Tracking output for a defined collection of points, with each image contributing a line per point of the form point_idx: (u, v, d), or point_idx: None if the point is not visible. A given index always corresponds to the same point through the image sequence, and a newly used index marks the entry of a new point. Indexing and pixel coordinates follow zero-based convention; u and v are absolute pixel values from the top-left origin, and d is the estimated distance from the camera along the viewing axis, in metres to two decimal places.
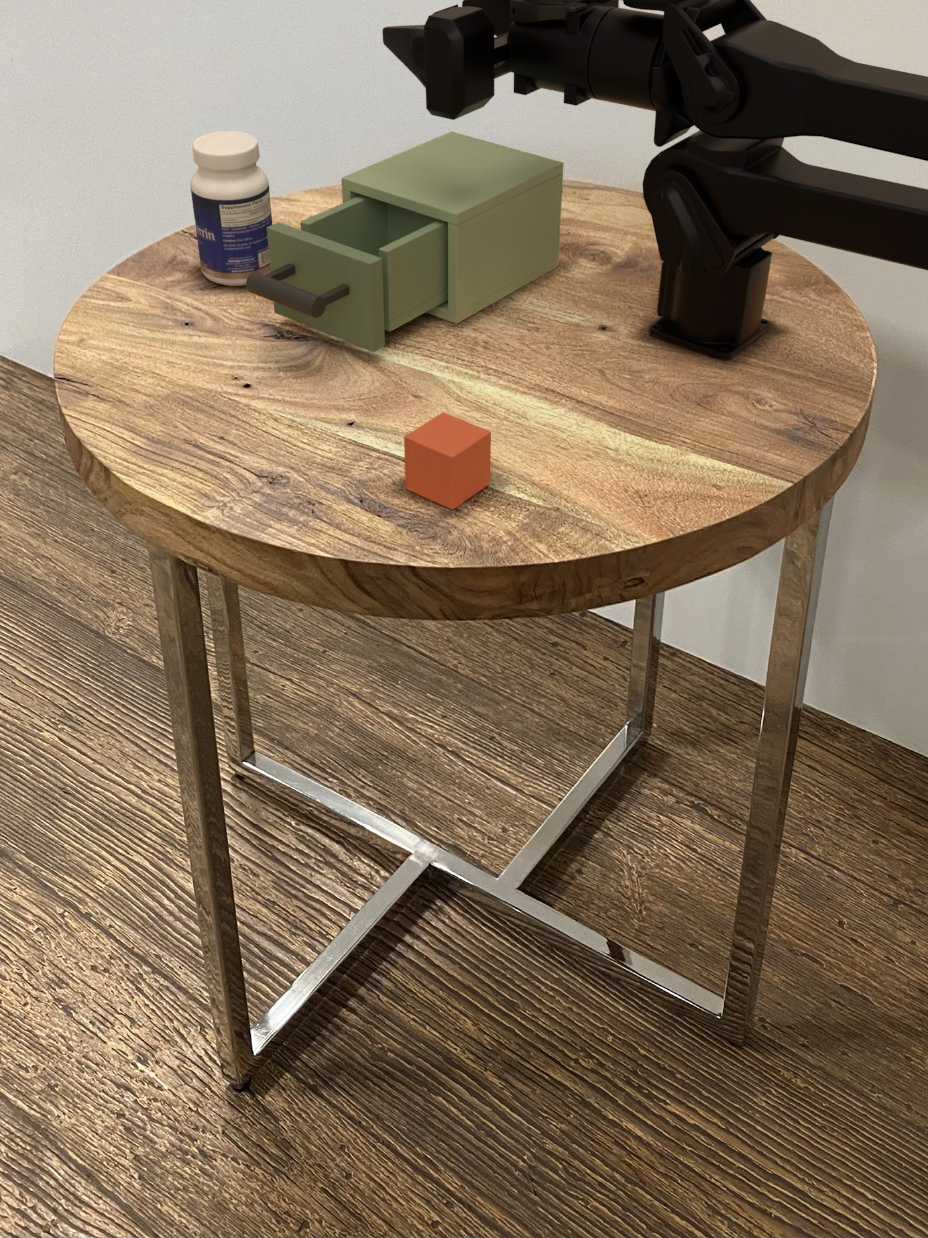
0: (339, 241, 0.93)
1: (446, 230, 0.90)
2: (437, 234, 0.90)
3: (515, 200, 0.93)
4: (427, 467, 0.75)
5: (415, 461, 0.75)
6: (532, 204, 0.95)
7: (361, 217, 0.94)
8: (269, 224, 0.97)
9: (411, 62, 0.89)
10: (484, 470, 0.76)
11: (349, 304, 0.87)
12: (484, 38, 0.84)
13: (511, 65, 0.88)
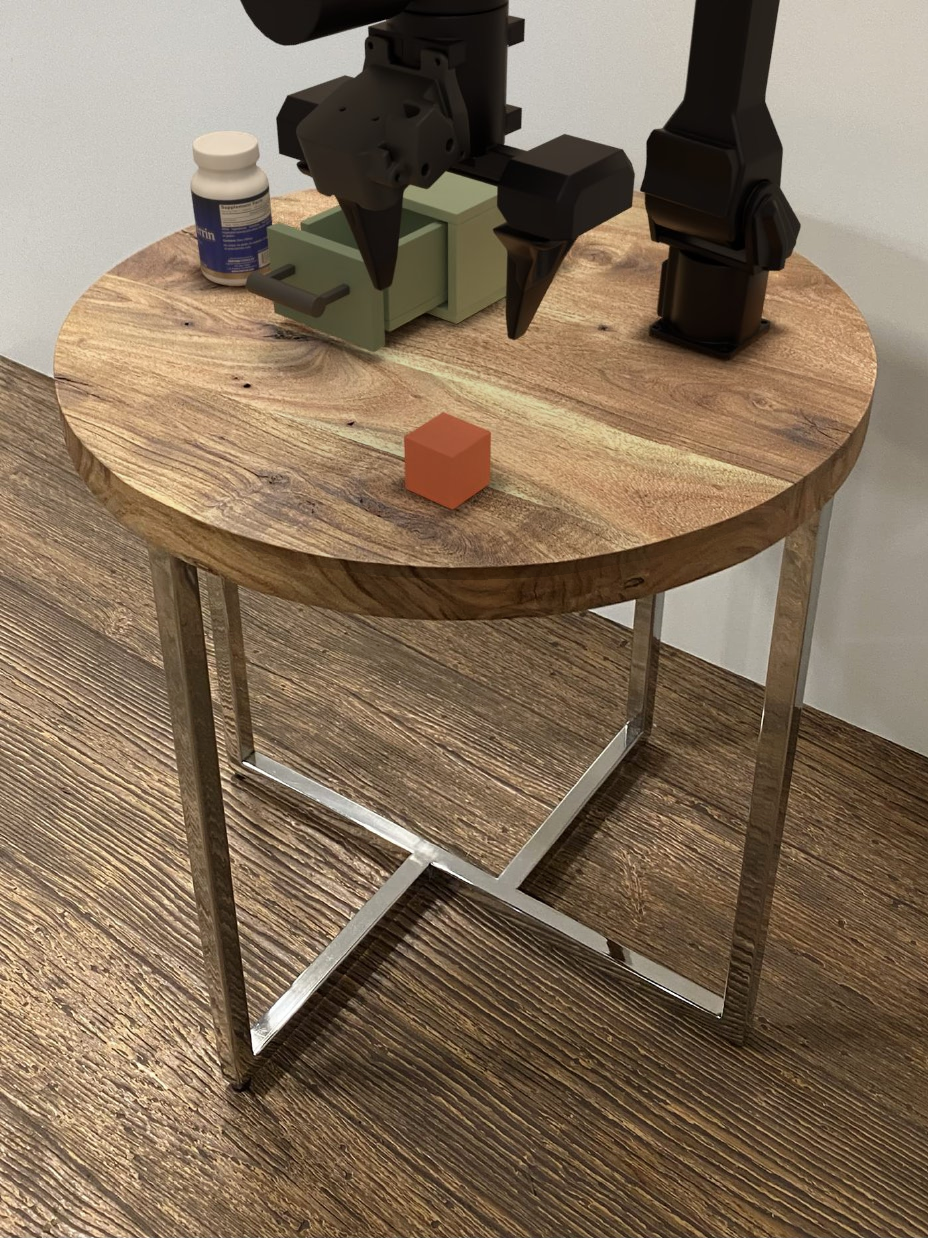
0: (339, 241, 0.93)
1: (446, 230, 0.90)
2: (437, 234, 0.90)
3: None
4: (427, 467, 0.75)
5: (415, 461, 0.75)
6: None
7: None
8: (269, 224, 0.97)
9: (548, 276, 0.66)
10: (484, 470, 0.76)
11: (349, 304, 0.87)
12: (536, 161, 0.60)
13: (503, 139, 0.63)
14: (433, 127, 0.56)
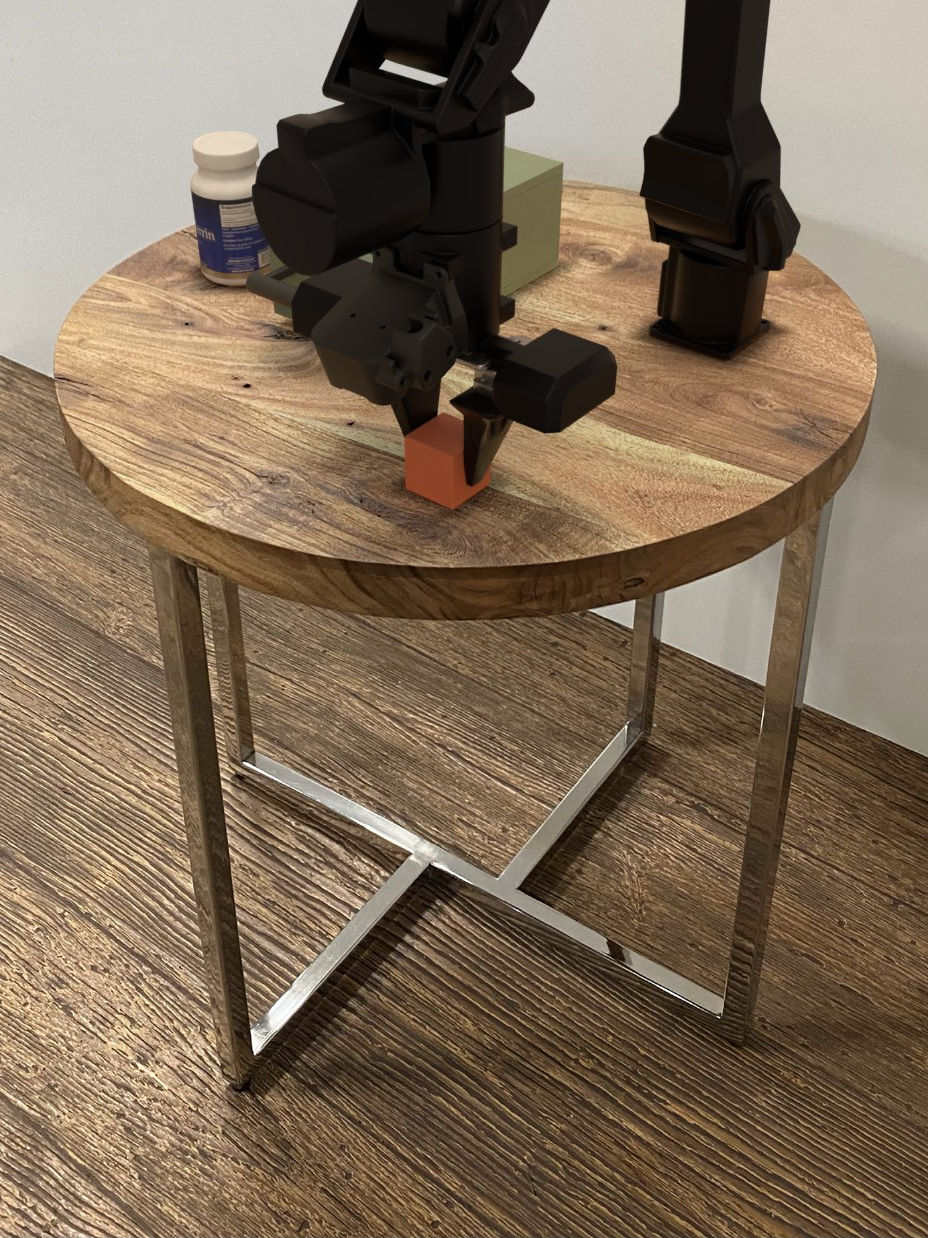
0: None
1: None
2: None
3: (515, 200, 0.93)
4: (427, 467, 0.75)
5: (415, 461, 0.75)
6: (532, 204, 0.95)
7: None
8: None
9: (501, 433, 0.74)
10: None
11: None
12: (527, 360, 0.66)
13: (498, 330, 0.70)
14: (435, 340, 0.63)
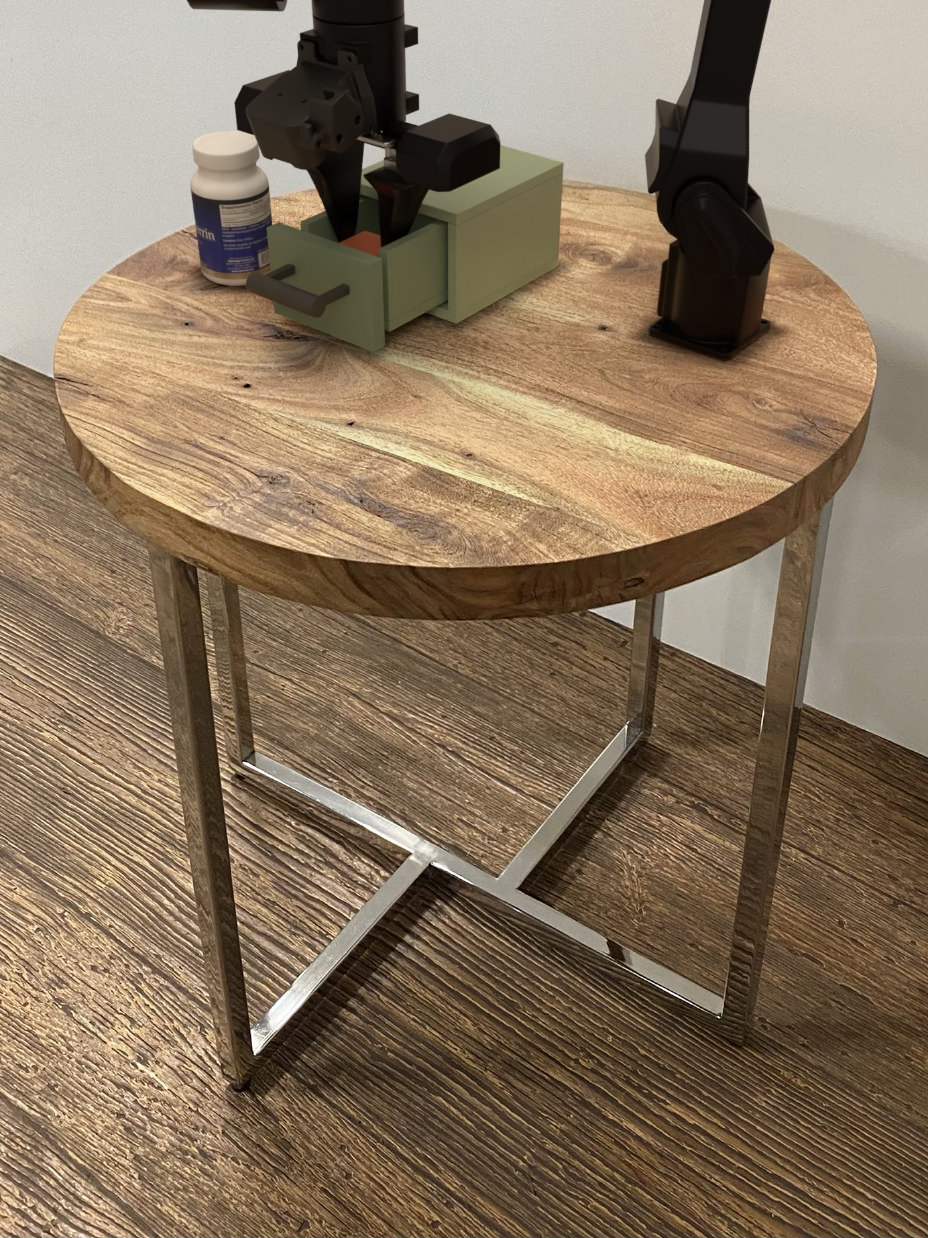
0: None
1: (446, 230, 0.90)
2: (437, 234, 0.90)
3: (515, 200, 0.93)
4: None
5: None
6: (532, 204, 0.95)
7: (361, 217, 0.94)
8: (269, 224, 0.97)
9: (411, 213, 0.88)
10: None
11: (349, 304, 0.87)
12: (423, 132, 0.80)
13: (404, 118, 0.84)
14: (344, 107, 0.77)
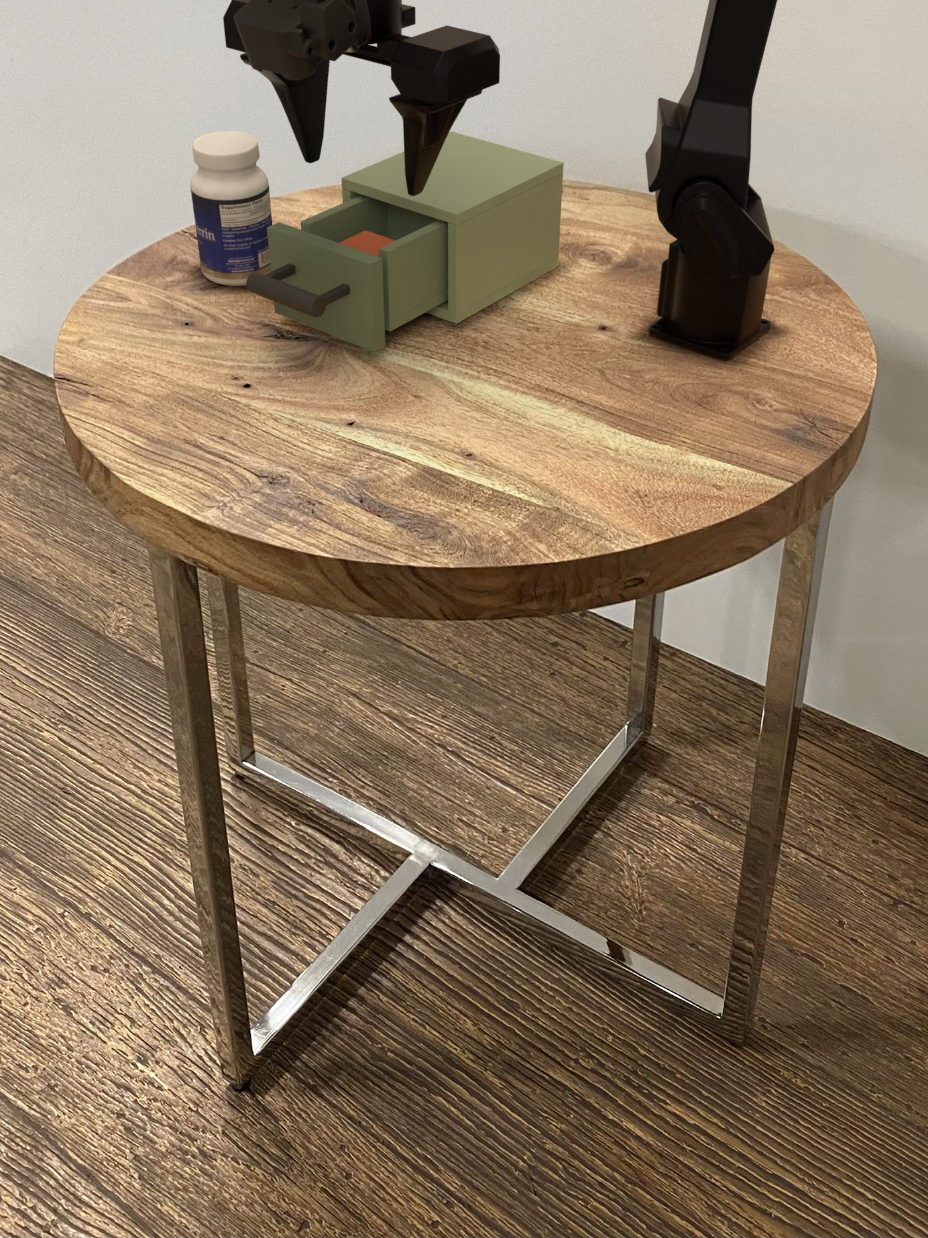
0: (339, 241, 0.93)
1: (446, 230, 0.90)
2: (437, 234, 0.90)
3: (515, 200, 0.93)
4: None
5: None
6: (532, 204, 0.95)
7: (362, 217, 0.94)
8: (269, 224, 0.97)
9: (438, 143, 0.83)
10: None
11: (350, 304, 0.87)
12: (420, 42, 0.77)
13: (399, 31, 0.81)
14: (337, 11, 0.74)
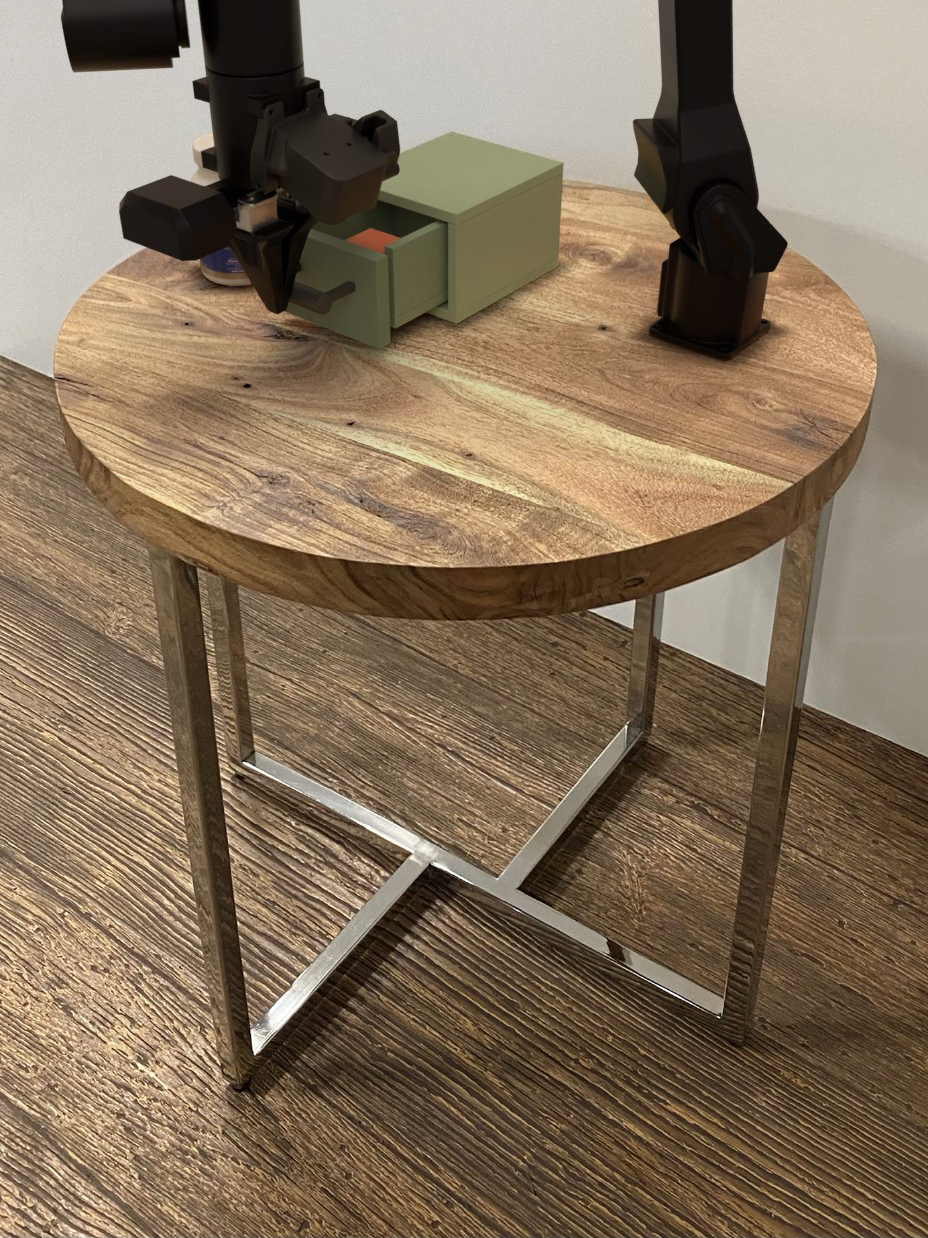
0: (344, 238, 0.93)
1: None
2: (442, 231, 0.90)
3: (515, 200, 0.93)
4: None
5: None
6: (532, 204, 0.95)
7: (367, 215, 0.94)
8: None
9: None
10: None
11: (355, 302, 0.88)
12: None
13: None
14: None
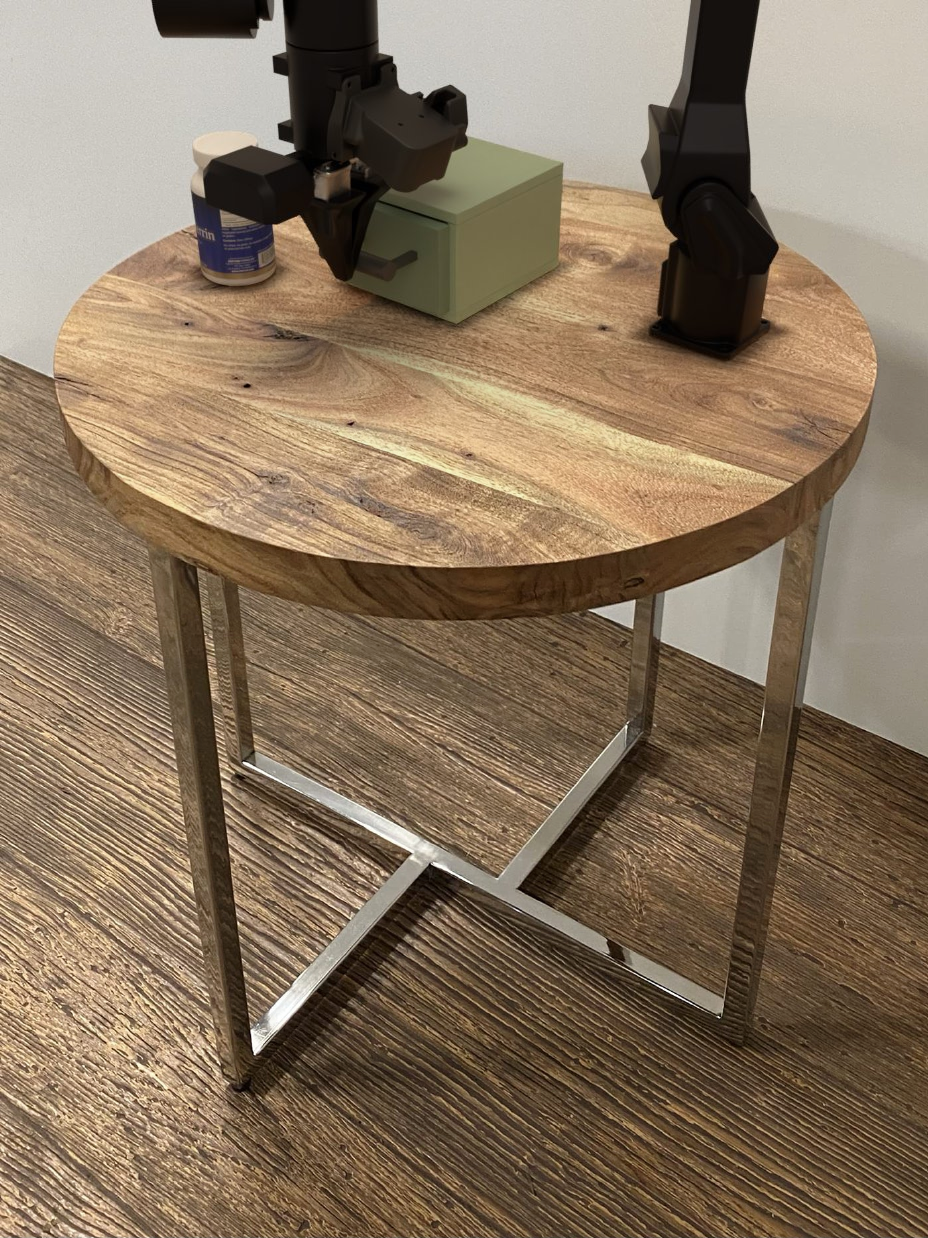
0: None
1: None
2: None
3: (515, 200, 0.93)
4: None
5: None
6: (532, 204, 0.95)
7: None
8: None
9: None
10: None
11: (417, 270, 0.91)
12: None
13: None
14: None
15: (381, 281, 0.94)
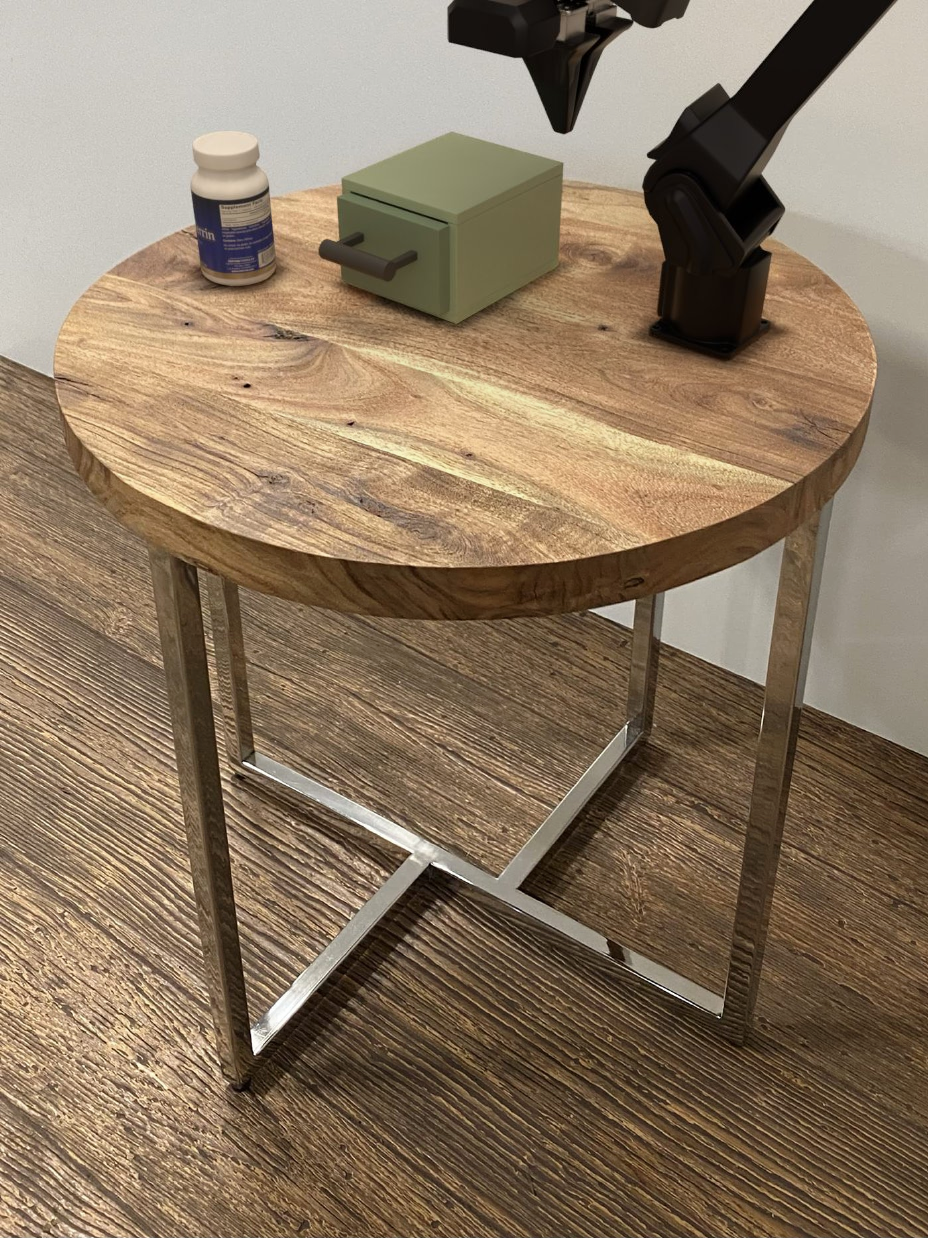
0: None
1: None
2: None
3: (515, 200, 0.93)
4: None
5: None
6: (532, 204, 0.95)
7: None
8: (269, 224, 0.97)
9: None
10: None
11: (417, 270, 0.91)
12: None
13: None
14: None
15: (381, 281, 0.94)
